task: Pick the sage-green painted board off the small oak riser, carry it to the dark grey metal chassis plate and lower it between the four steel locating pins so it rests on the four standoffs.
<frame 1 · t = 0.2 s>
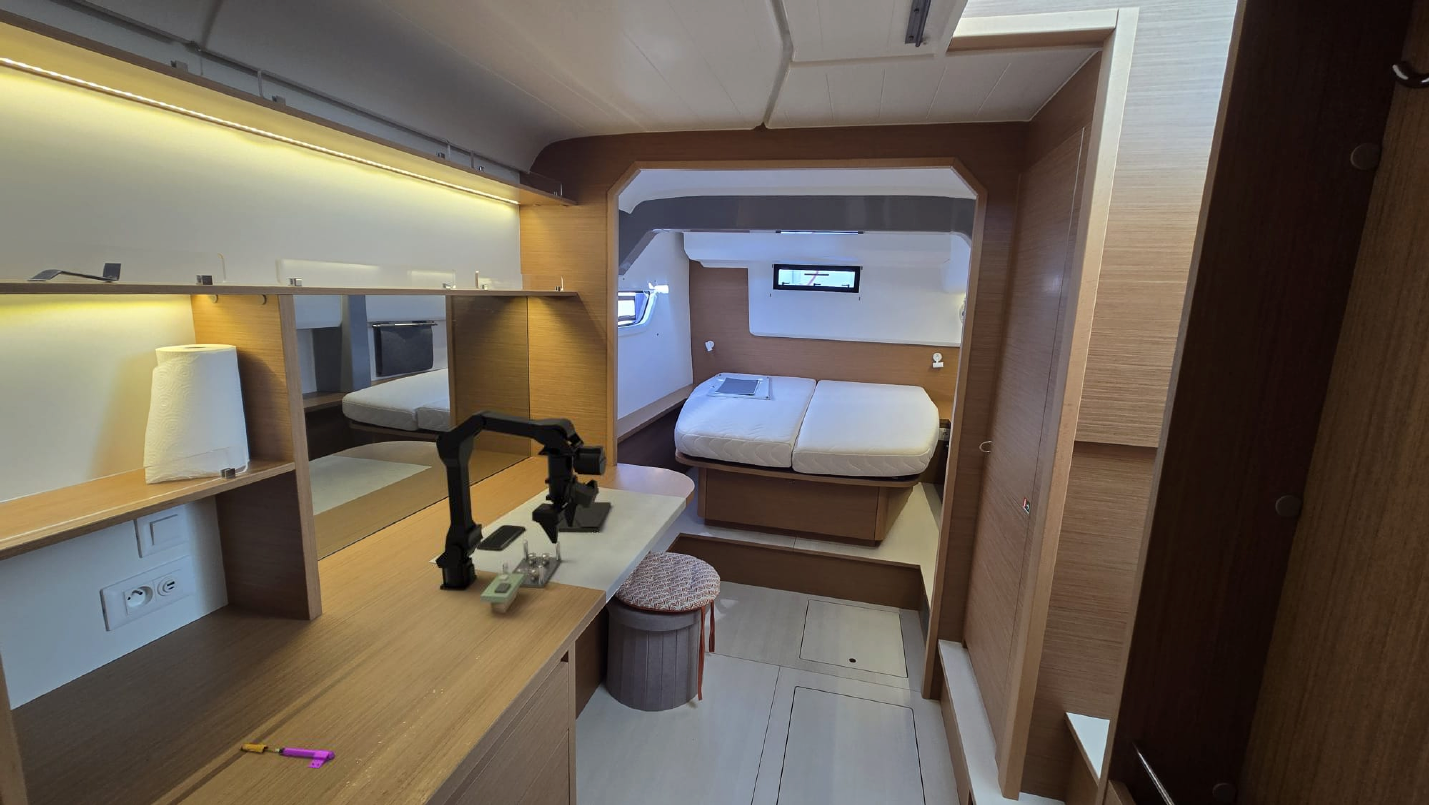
hand: (562, 535, 133), 14 cm above the table, fingers open, 9 cm apart
phone: (501, 540, 162), on the table
riser: (504, 603, 129), on the table
board: (503, 590, 128), point 3 cm above the table, touching riser
chassis: (533, 572, 143), on the table
picture frame: (580, 521, 177), on the table
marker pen: (282, 760, 87), on the table
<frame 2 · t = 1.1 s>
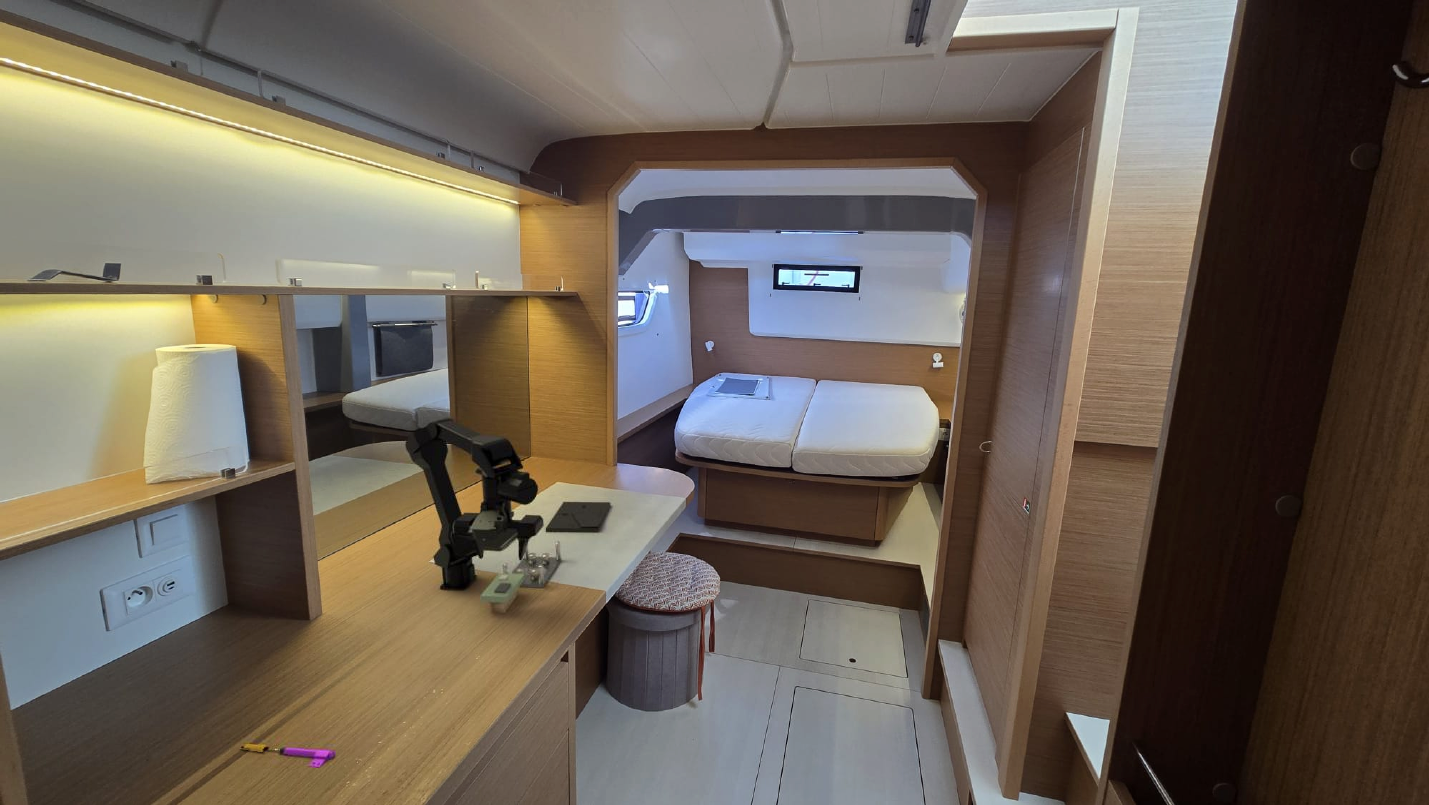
hand: (501, 559, 127), 11 cm above the table, fingers open, 9 cm apart
nothing on the table moved.
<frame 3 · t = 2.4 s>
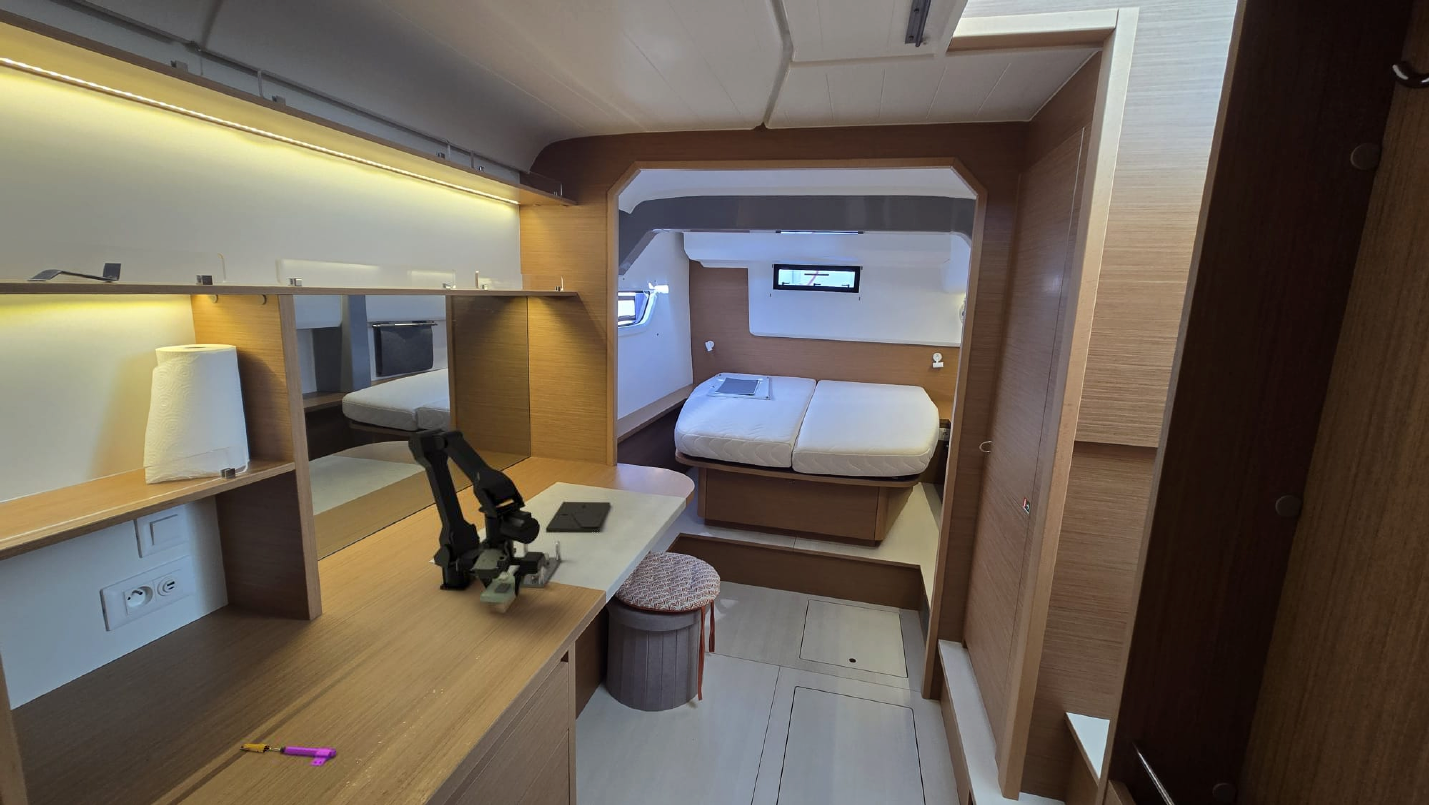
hand: (503, 595, 129), 2 cm above the table, fingers closed on board, 6 cm apart
board: (503, 590, 128), point 3 cm above the table, touching gripper, riser
everything else where it was.
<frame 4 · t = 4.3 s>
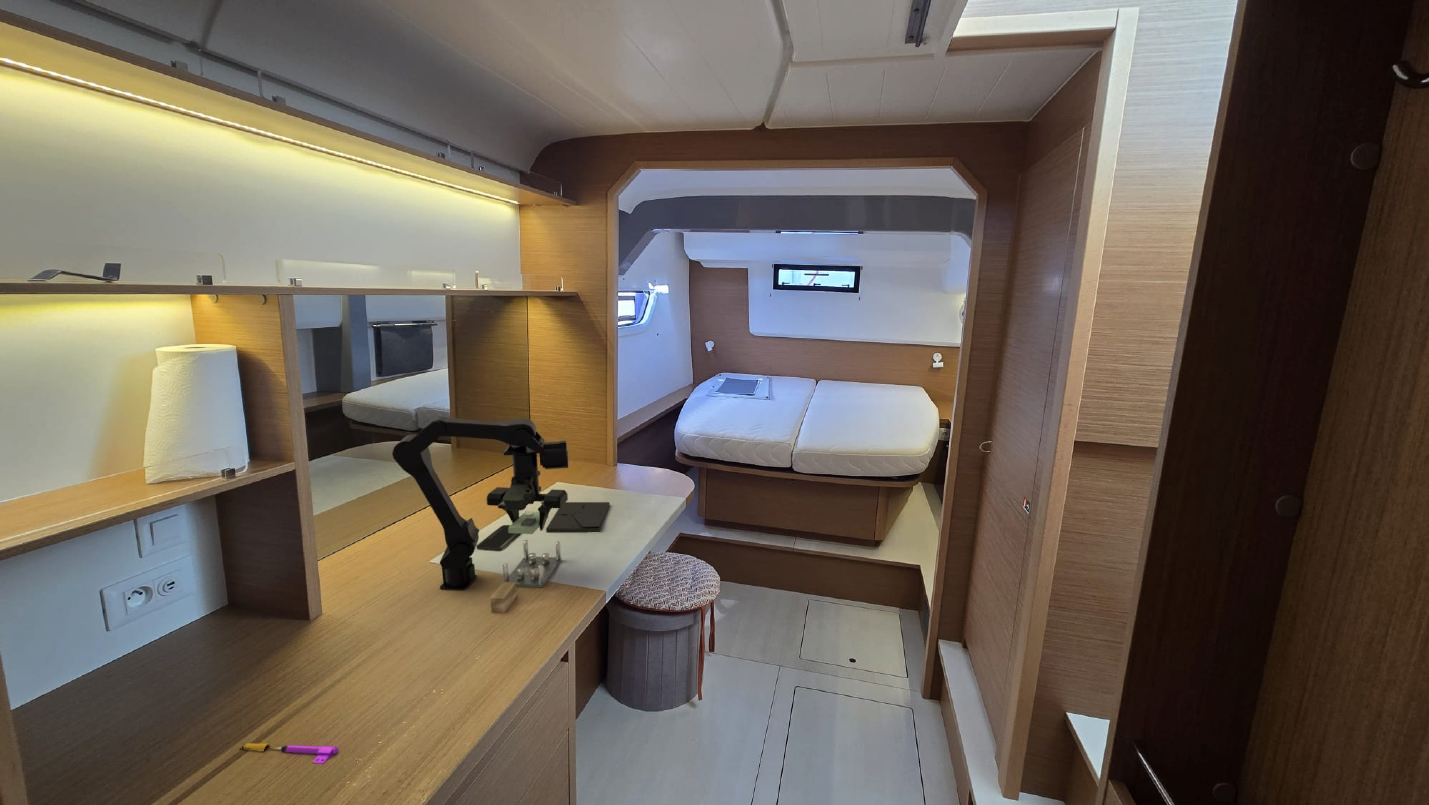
hand: (529, 529, 139), 13 cm above the table, fingers closed on board, 6 cm apart
board: (529, 524, 139), point 14 cm above the table, touching gripper
everything else where it was.
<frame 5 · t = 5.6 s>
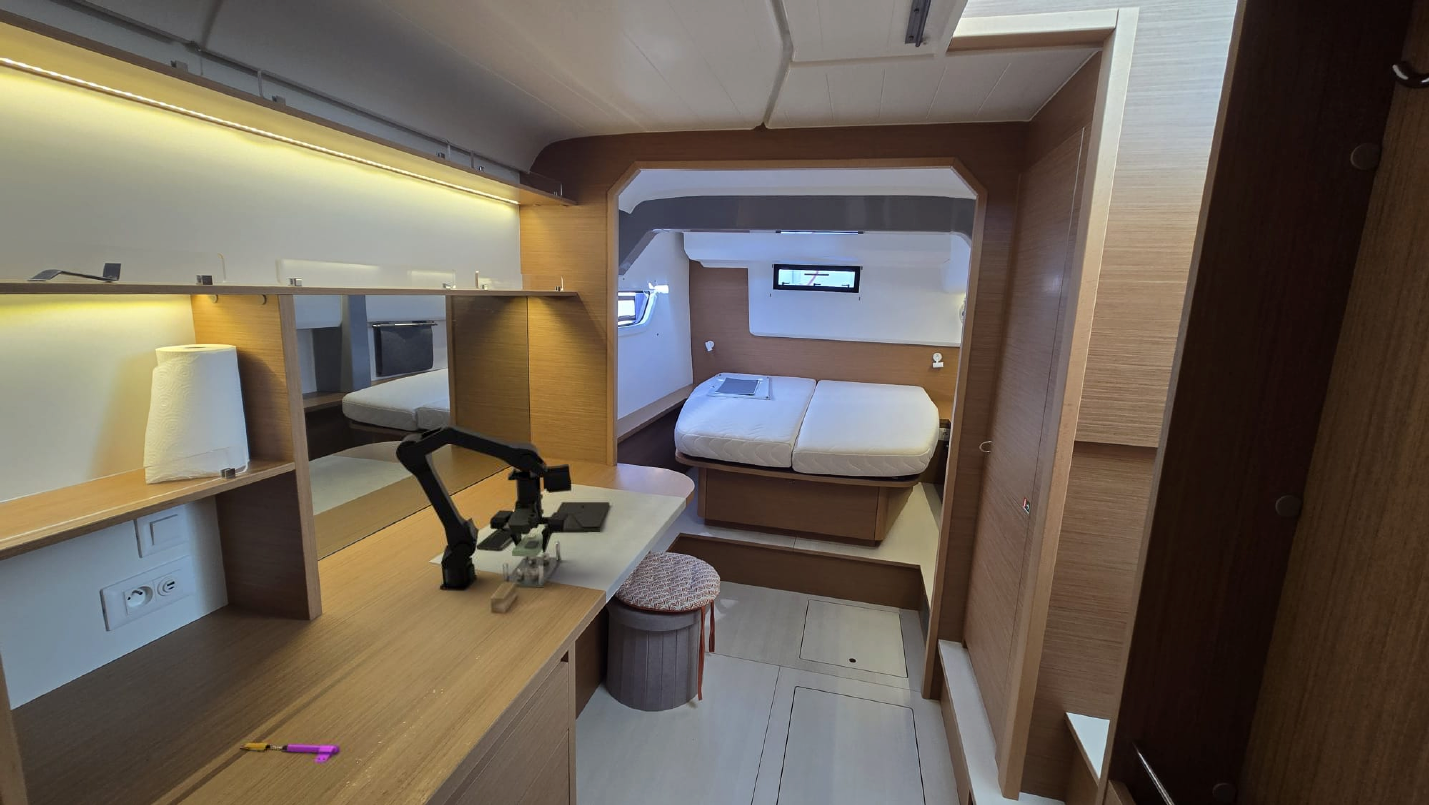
hand: (532, 551, 142), 6 cm above the table, fingers closed on board, 6 cm apart
board: (531, 547, 142), point 7 cm above the table, touching gripper
everything else where it was.
when the fingers open (3 cm above the table, at t = 6.6 s): board drops 2 cm, resting on chassis.
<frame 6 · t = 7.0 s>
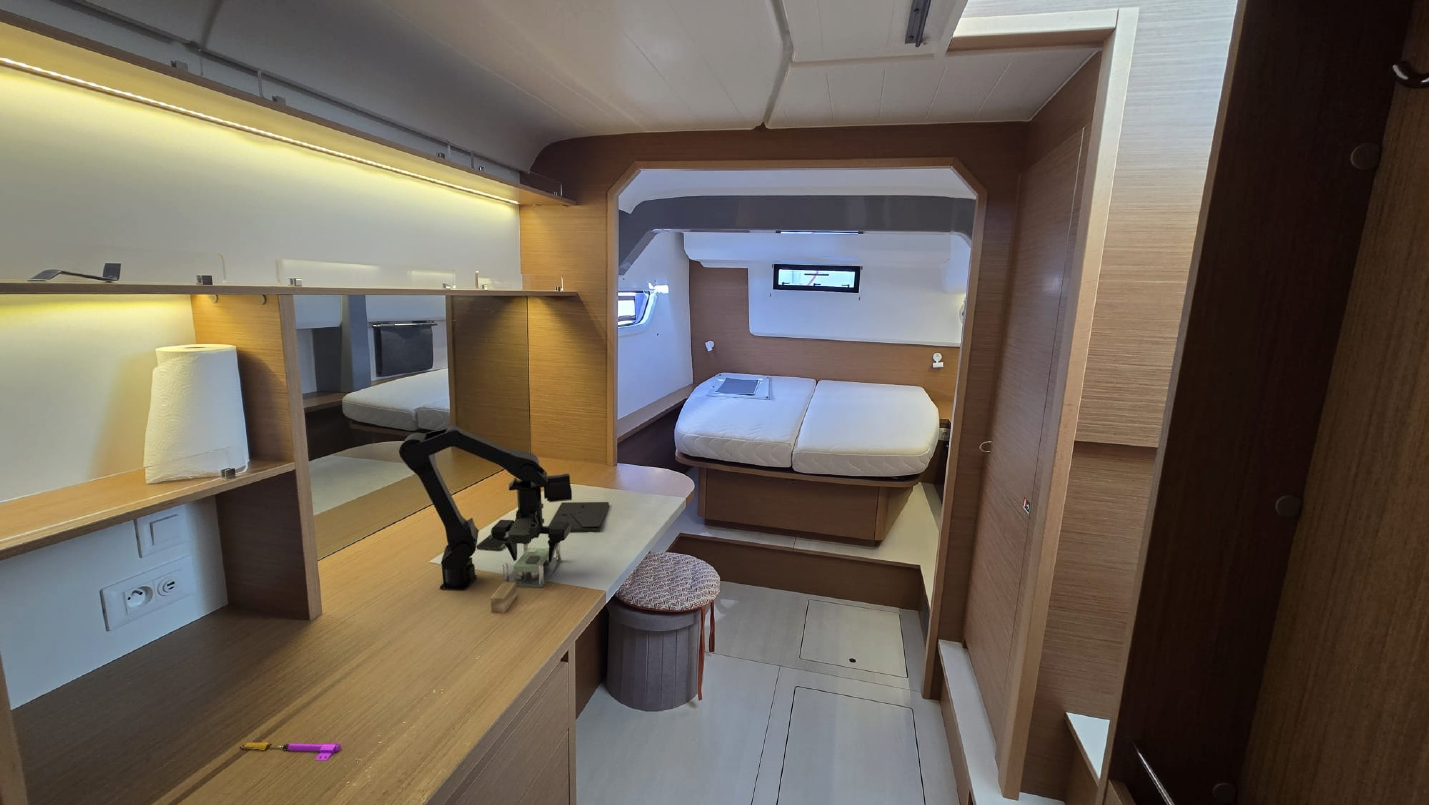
hand: (532, 560, 142), 3 cm above the table, fingers open, 9 cm apart
board: (532, 562, 142), point 3 cm above the table, touching chassis
everything else where it was.
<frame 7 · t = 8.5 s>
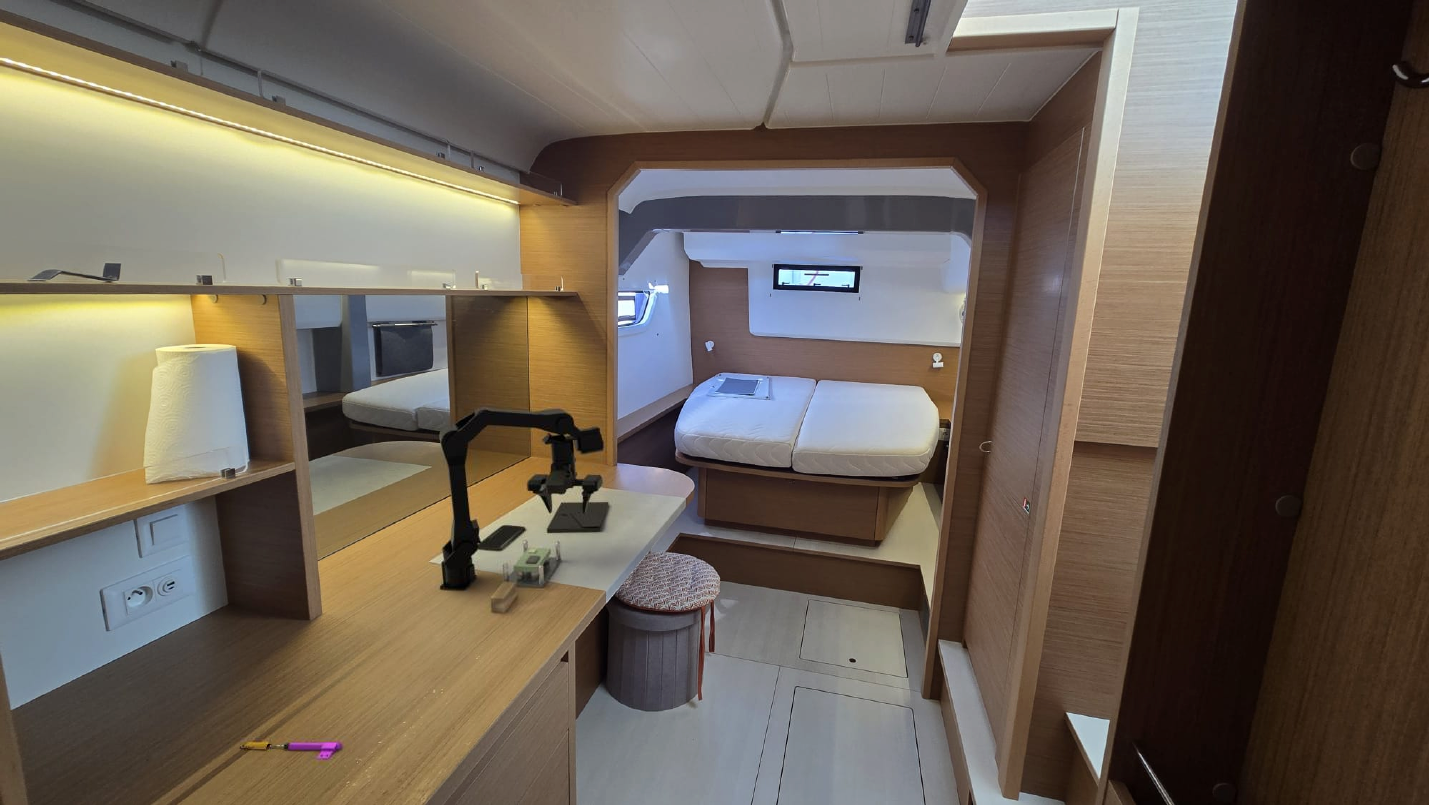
hand: (567, 513, 148), 13 cm above the table, fingers open, 9 cm apart
nothing on the table moved.
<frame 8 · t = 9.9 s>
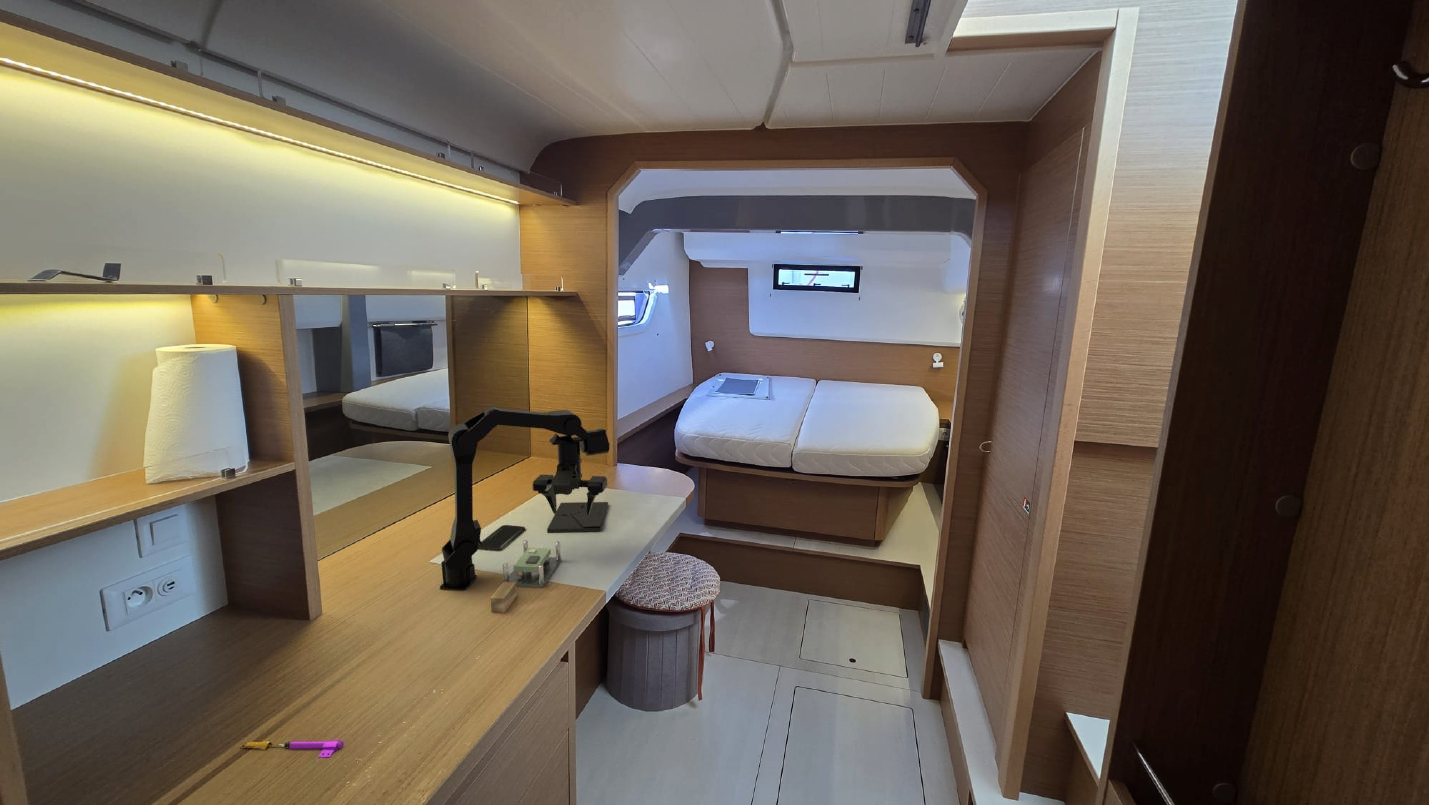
hand: (571, 513, 149), 12 cm above the table, fingers open, 9 cm apart
at the end: board 0.0 cm off-centre on the chassis, point 3.0 cm above the chassis's base; board tilted 0°; the gripper is holding nothing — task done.
